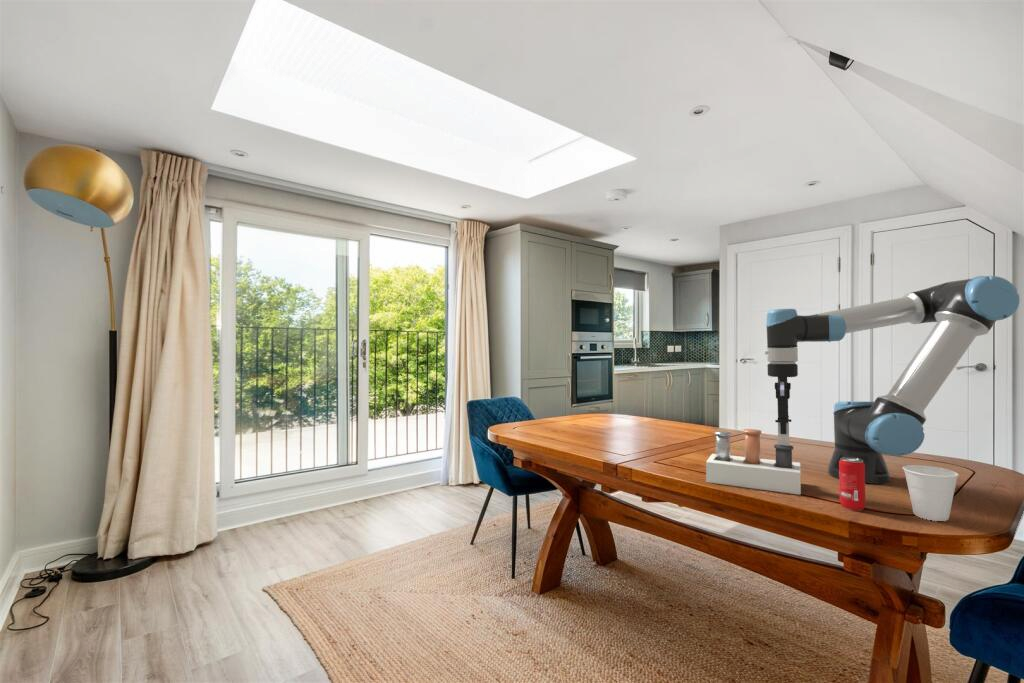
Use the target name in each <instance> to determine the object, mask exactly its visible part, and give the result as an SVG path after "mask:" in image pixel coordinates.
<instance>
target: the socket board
mask: <svg viewBox="0 0 1024 683" xmlns="http://www.w3.org/2000/svg"><path fill="white" fill-rule="evenodd" d="M730 460H731V462H727V461H718V460H716V453H711V454H710V456H709V457H708V458H707V460H706V461H705V482H706V483H711V484H718V485H725V486H732V487H741V488H747V489H748V488H749V489H753V490H762V491H763V490H764V491H768V492H769V491H770V492H778V493H783V494H785V493H786V494H791V495H792V494H793V495H798V496H799V495H801V494H802V491H801V490H802V488H801V487H802V486H801V485H802V483H801V482H802V481H801V462H798V461H797V462H795V461H792V469H790V468H781V467H776V459H767V458H760V464H759V465H754V464H747V463H745V456H739V455H731V454H730Z"/></svg>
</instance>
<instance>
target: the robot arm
mask: <svg viewBox="0 0 1024 683" xmlns="http://www.w3.org/2000/svg"><path fill="white" fill-rule="evenodd" d="M1020 300H1021V299H1020V294H1019V293H1018V289H1017V288H1016V286H1015V285H1014V284H1013V283H1012V282H1011V281H1010V280H1008V279H1006V278H1004V277H1001V276H996V275H986V276H985V275H980V276H974V277H972V278H967V279H962V280H961V279H959V280H954V281H949V282H948V281H947V282H943V283H940V284H937V285H933V286H931V287H928V288H924V289H921V290H917V291H913V292H907V293H905V294H904V295H903V296H902V297H899V298H894V299H888V300H883V301H877V302H872V303H867V304H862V305H857V306H853V307H852V306H851V307H847V308H840V309H837V310H832V311H831V310H830V311H826V312H821V313H816V314H811V315H799V314H798V311H797V309H795V308H777V309H776V308H775V309H770V310H769V311H768V312H767V314H766V325H765V326H766V340H767V341H766V344H767V346H766V347H767V350H766V351H765V352H764V355H766V356H767V362H769V363H768V364H767V366H766V367H767V376H768V377H771V378H772V377H773V378H777V382H774V389H775V399H777V419H775V420H774V421H775V423H777V438H778V439H777V444H778V445H784V446H789V445H790V422H792V419H790V416H789V399H791V398H790V397H791V391H790V390H791V389H792V387H791V385H792V384H791V382H788V378H797V377H798V375H799V371H798V369H799V367H798V366H799V365H798V364H797V363H796V362H798V361H799V358H798V356H799V354H798V353H799V352H798V343H803V342H805V343H806V342H810V343H811V342H813V343H815V342H817V343H818V342H819V343H822V342H829V343H830V342H840V341H842V340H843V339H844V338H845V336H846V335H847V334H851V333H855V332H862V331H868V330H872V329H873V330H874V329H878V328H879V329H880V328H884V327H890V326H895V325H900V324H906V323H910V324H912V325H920V324H925V323H936V324H935V325H934V326H933V328H932V330H931V331H930V332H929V334H927V335H928V336H927V337H926V338H925V340H923V343H922V344H921V345H920V347H919V348H918V350H917V351H916V352H915V354H914V355H913V357H912V358H911V360H910V361H909V363H908V364H907V366H906V367H905V369H904V370H903V371H902V373H901V374H900V376H899V377H898V379H897V380H896V382H894V384H893V385H892V388H891V389H890V390H889V392H888V393H887V394H885V395H881V396H877V397H876V399H875V400H874V401H837V402H836V403H835V404H834V406H833V413H832V414H833V426H834V427H833V429H834V432H833V434H834V450H833V453H832V455H831V458H830V460H829V463H828V466H827V467H828V468H827V469H828V470H827V471H828V475H829V476H832V477H834V478H836V479H839V461H840V458H842V457H850V458H857V459H861V460H863V463H864V464H865V484H886V483H889V482H891V474H890V471H889V467H888V465H887V463H886V461H885V458H884V455H889V456H893V457H896V456H897V457H901V456H906V455H907V456H908V455H909V454H912V453H914V452H916V451H917V450H918V449H920V447H921V445H922V444H923V442H924V440H925V433H924V426H923V425H924V424H925V423H926V421H927V417H926V415H925V412H924V411H925V410H926V408H927V407H928V405H929V404H930V403H931V402H932V400H933V398H934V397H935V396H936V394H937V392H939V390H940V388H942V386H943V384H944V383H945V381H946V380H947V379H948V377H949V376H950V374H951V373H952V371H953V370H954V368H956V366H957V364H958V363H959V362H960V360H961V359H962V357H963V356H964V355H965V353H966V352H967V350H968V349H969V347H970V346H971V345H972V343H973V342H974V340H975V339H976V338H977V337H979V336H983V335H987V334H988V333H989V332H990V331H991V328H992V327H993V326H994V325H995V323H997V321H1003V320H1005V319H1008V318H1009V317H1011V316H1012V315H1014V314H1015V313H1016V312H1017V310H1018V309H1019V306H1020Z"/></svg>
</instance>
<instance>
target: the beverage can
mask: <svg viewBox="0 0 1024 683" xmlns="http://www.w3.org/2000/svg"><path fill="white" fill-rule="evenodd" d="M838 480H839V482H838V483H839V486H838V487H839V502H840V505H841V508H844V509H846V510H850V511H857V512H859V511H864V508H865V506H866V483H865V464H864V463H863V460H861V459H857V458H850V457H842V458H840V461H839V478H838Z"/></svg>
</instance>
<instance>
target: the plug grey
mask: <svg viewBox="0 0 1024 683" xmlns="http://www.w3.org/2000/svg"><path fill="white" fill-rule="evenodd" d="M713 434H714V435H715V454H716V460H718V461H727V462H731V460H730V455H731V436H732V434H733V433H732V432H731V431H729V430H728V431H727V430H716V431H714V432H713Z"/></svg>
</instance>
